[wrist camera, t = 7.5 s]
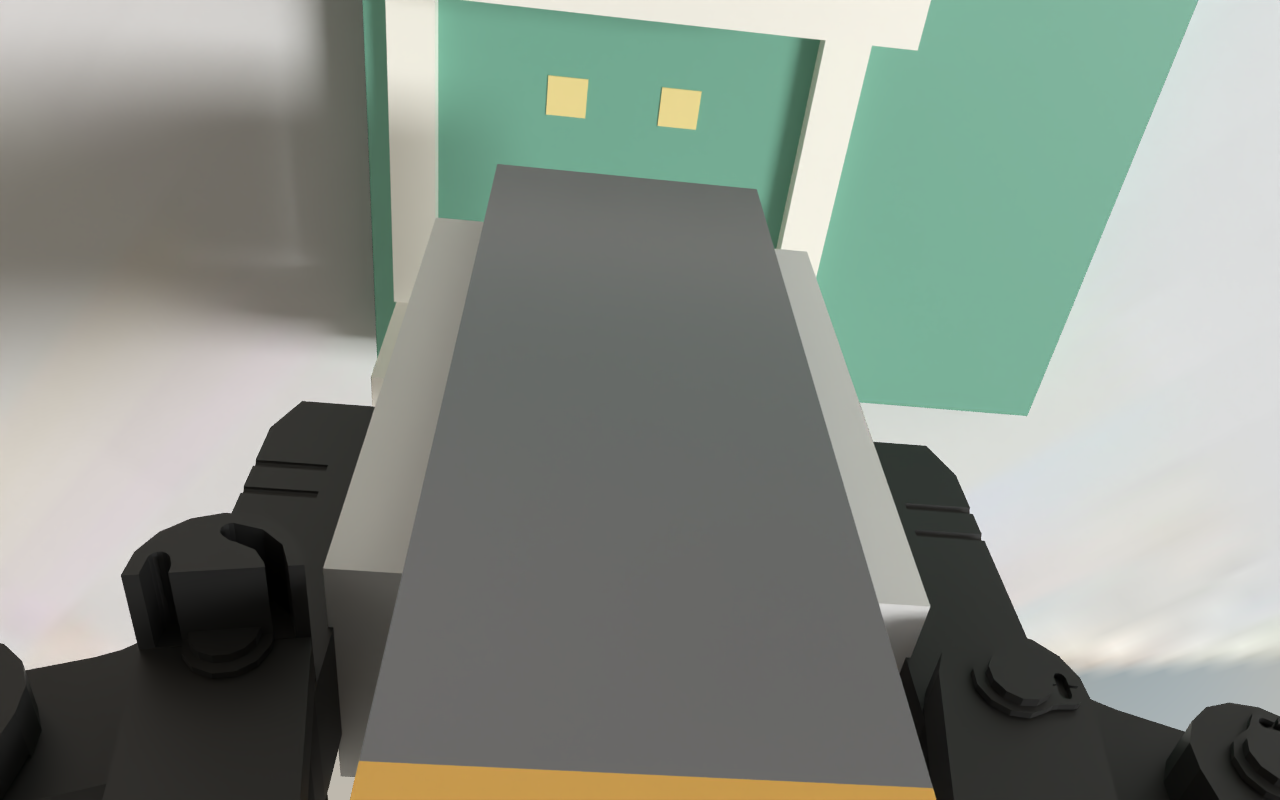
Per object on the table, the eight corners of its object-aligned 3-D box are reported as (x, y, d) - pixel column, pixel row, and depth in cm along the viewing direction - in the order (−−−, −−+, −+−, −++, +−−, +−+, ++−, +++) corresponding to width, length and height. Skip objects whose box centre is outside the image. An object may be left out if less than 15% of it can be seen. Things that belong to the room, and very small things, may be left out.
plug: (496, 164, 14) (328, 891, 5) (756, 189, 14) (970, 914, 6) (487, 439, 16) (363, 1212, 8) (705, 455, 16) (801, 1217, 8)
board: (352, -736, 13) (260, -880, 10) (1380, -561, 14) (1622, -635, 11) (387, 332, 22) (346, 453, 19) (1009, 384, 23) (1077, 507, 20)
